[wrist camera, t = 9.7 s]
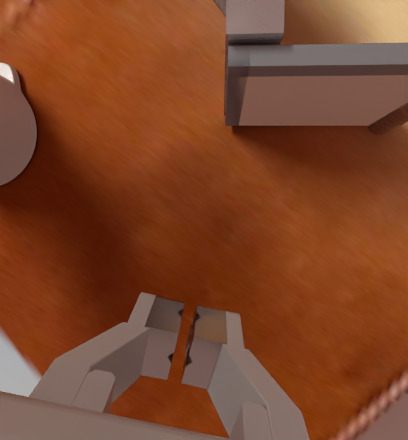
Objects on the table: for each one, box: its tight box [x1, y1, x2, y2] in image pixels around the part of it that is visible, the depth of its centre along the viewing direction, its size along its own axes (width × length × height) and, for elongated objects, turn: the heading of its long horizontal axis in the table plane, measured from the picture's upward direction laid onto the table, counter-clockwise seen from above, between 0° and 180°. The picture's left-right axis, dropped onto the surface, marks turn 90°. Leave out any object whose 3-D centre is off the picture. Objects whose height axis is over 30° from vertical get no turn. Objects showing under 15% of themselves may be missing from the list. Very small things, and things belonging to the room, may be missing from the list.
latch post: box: [224, 0, 285, 114], centre depth 28 cm, size 4×3×16 cm
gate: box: [225, 43, 408, 126], centre depth 27 cm, size 17×2×14 cm, turn 89°
